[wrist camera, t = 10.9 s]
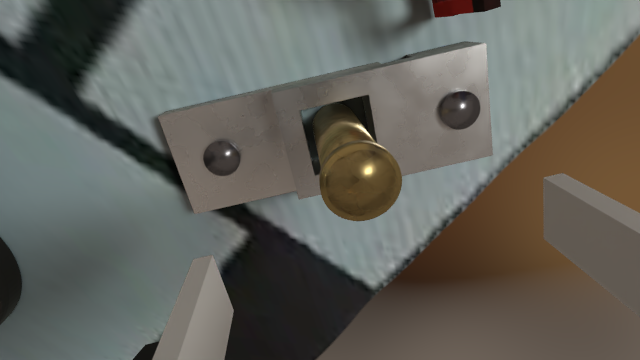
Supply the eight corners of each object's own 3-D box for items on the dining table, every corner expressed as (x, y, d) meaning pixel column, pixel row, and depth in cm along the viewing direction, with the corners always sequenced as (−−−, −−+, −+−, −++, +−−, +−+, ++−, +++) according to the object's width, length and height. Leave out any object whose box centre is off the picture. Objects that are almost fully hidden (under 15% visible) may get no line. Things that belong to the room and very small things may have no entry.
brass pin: (315, 155, 36) (329, 228, 23) (303, 106, 34) (311, 154, 21) (364, 144, 36) (406, 211, 23) (355, 94, 34) (395, 135, 21)
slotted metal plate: (199, 204, 37) (187, 227, 32) (165, 111, 33) (146, 123, 29) (472, 142, 36) (496, 157, 32) (464, 41, 33) (489, 43, 29)
